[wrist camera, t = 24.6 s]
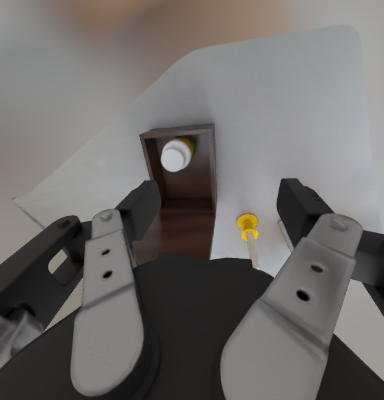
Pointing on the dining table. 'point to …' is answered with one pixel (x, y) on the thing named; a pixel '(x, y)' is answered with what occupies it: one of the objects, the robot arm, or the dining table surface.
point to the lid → (177, 236)
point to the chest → (184, 169)
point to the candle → (250, 235)
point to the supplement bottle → (178, 153)
